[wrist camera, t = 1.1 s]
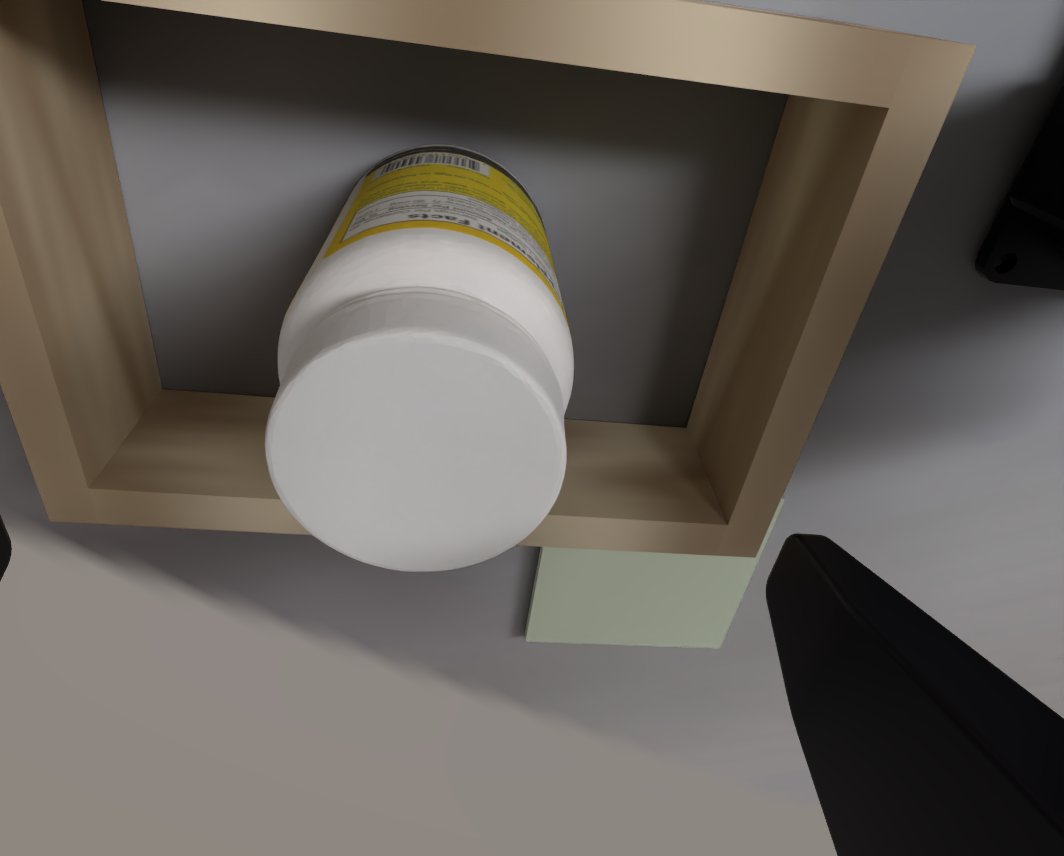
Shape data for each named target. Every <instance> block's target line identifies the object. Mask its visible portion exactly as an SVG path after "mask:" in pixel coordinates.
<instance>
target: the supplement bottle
mask: <svg viewBox="0 0 1064 856" xmlns="http://www.w3.org/2000/svg"><path fill="white" fill-rule="evenodd" d="M278 375H279V381H280V387H279V389H278V392H277V394H276V397H275V399H274V402H273V405H272V407H271V410H270V413H269V416H268V420H267V425H266V432H265V457H266V462H267V466H268V472H269V474H270V477H271V480H272V483H273V485H274V488H275V490H276V492H277V494H278V496H279V497H280V499H281V501H282V502H283V504H284V505H285V507H286V508H287V510H288V511H289V512H290V513H291V514H292V516H293V517H294V518H295V519H296V520H297V521H298V522H299V523H300V524H301V525H302V526H303V527H304V528H305V529H306V530H307V531H308V532H310V533H311V534H312V535H313V536H314V537H316V538H317V539H319V540H320V541H322V542H323V543H324V544H326V545H328V546H329V547H331V548H333V549H335V550H336V551H338V552H340V553H342V554H344V555H346V556H348V557H351V558H353V559H356V560H358V561H361V562H363V563H367V564H371V565H374V566H378V567H382V568H386V569H391V570H399V571H409V572H432V571H444V570H453V569H458V568H463V567H467V566H471V565H474V564H477V563H480V562H483V561H485V560H488V559H490V558H493V557H495V556H497V555H499V554H501V553H503V552H505V551H506V550H508V549H510V548H512V547H513V546H515V545H516V544H518V543H519V542H520V541H522V540H523V539H524V538H526V537H527V536H528V535H529V534H530V533H531V532H533V531H534V530H535V528H536V527H537V526H538V525H539V524H540V523H541V522H542V521H543V519H544V518H545V517H546V515H547V514H548V513H549V511H550V510H551V508H552V506H553V505H554V503H555V501H556V499H557V497H558V495H559V492H560V490H561V486H562V483H563V479H564V475H565V469H566V462H567V447H566V439H565V428H564V414H565V412H566V409H567V406H568V403H569V399H570V396H571V391H572V386H573V376H574V354H573V345H572V339H571V334H570V330H569V326H568V322H567V318H566V313H565V309H564V305H563V301H562V297H561V293H560V289H559V286H558V281H557V277H556V273H555V269H554V265H553V261H552V257H551V252H550V248H549V245H548V241H547V237H546V233H545V229H544V226H543V223H542V220H541V216H540V214H539V212H538V209H537V207H536V205H535V203H534V201H533V199H532V198H531V196H530V194H529V193H528V191H527V190H526V189H525V187H524V186H523V185H522V184H521V182H520V181H519V180H518V179H517V178H516V177H515V176H514V175H513V174H512V173H511V172H510V171H509V170H507V169H506V168H505V167H503V166H502V165H501V164H499V163H498V162H496V161H495V160H493V159H491V158H489V157H487V156H485V155H483V154H481V153H479V152H476V151H473V150H470V149H468V148H464V147H460V146H455V145H447V144H430V145H421V146H416V147H411V148H408V149H405V150H402V151H399V152H397V153H394V154H392V155H390V156H389V157H387V158H385V159H383V160H382V161H380V162H379V163H378V164H376V165H375V166H374V167H372V168H371V169H370V170H369V171H368V172H367V173H366V174H365V175H364V176H363V177H362V178H361V179H360V181H359V182H358V183H357V185H356V186H355V188H354V189H353V191H352V192H351V194H350V196H349V198H348V200H347V201H346V203H345V205H344V207H343V208H342V210H341V212H340V214H339V216H338V218H337V220H336V222H335V224H334V225H333V227H332V229H331V231H330V233H329V235H328V237H327V239H326V241H325V243H324V244H323V246H322V248H321V250H320V252H319V254H318V255H317V257H316V259H315V261H314V263H313V264H312V266H311V268H310V270H309V271H308V273H307V275H306V277H305V279H304V280H303V282H302V284H301V286H300V287H299V289H298V291H297V293H296V294H295V296H294V298H293V300H292V301H291V303H290V306H289V308H288V310H287V312H286V314H285V317H284V321H283V324H282V327H281V332H280V336H279V343H278Z"/></svg>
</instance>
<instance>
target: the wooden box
mask: <svg viewBox="0 0 1064 856" xmlns="http://www.w3.org/2000/svg"><path fill="white" fill-rule="evenodd" d="M103 1H110V2H117V3H125V4H132V5H139V6H147V7H154V8H161V9H169V10H176V11H183V12H190V13H198V14H205V15H212V16H220V17H227V18H234V19H242V20H249V21H256V22H264V23H271V24H278V25H286V26H293V27H300V28H307V29H315V30H322V31H329V32H337V33H344V34H351V35H359V36H366V37H373V38H381V39H388V40H395V41H403V42H410V43H417V44H425V45H432V46H439V47H446V48H454V49H461V50H468V51H476V52H483V53H490V54H498V55H505V56H512V57H520V58H527V59H534V60H542V61H549V62H556V63H563V64H571V65H578V66H585V67H593V68H600V69H607V70H615V71H622V72H629V73H637V74H644V75H651V76H659V77H666V78H673V79H681V80H688V81H695V82H702V83H710V84H717V85H724V86H732V87H739V88H746V89H754V90H761V91H768V92H776V93H783V94H789V96H788V99H787V102H786V106H785V109H784V112H783V115H782V119H781V122H780V125H779V128H778V132H777V135H776V138H775V141H774V145H773V148H772V151H771V154H770V158H769V161H768V164H767V167H766V171H765V174H764V177H763V180H762V184H761V187H760V190H759V193H758V197H757V200H756V203H755V206H754V210H753V213H752V216H751V219H750V223H749V226H748V229H747V232H746V236H745V239H744V242H743V245H742V249H741V252H740V255H739V258H738V262H737V265H736V268H735V271H734V275H733V278H732V281H731V284H730V288H729V291H728V294H727V297H726V301H725V304H724V307H723V310H722V314H721V317H720V320H719V324H718V327H717V330H716V333H715V337H714V340H713V343H712V346H711V350H710V353H709V356H708V359H707V363H706V366H705V369H704V372H703V376H702V379H701V382H700V385H699V389H698V392H697V395H696V398H695V402H694V405H693V408H692V411H691V415H690V418H689V421H688V424H687V428H681V427H667V426H653V425H640V424H626V423H613V422H599V421H586V420H572V419H564V428H565V439H566V447H567V462H566V469H565V475H564V479H563V483H562V486H561V490H560V492H559V495H558V497H557V499H556V501H555V503H554V505H553V506H552V508H551V510H550V511H549V513H548V514H547V515H546V517H545V518H544V519H543V521H542V522H541V523H540V524H539V525H538V526H537V527H536V528H535V530H534V531H533V532H531V533H530V534H529V535H528V536H527V537H526V538H524V539H523V540H522V541H520V542H519V543H518V544H516V545H517V546H536V547H556V548H575V549H595V550H614V551H634V552H653V553H673V554H692V555H712V556H731V557H751V558H756V556H757V553H758V551H759V549H760V546H761V544H762V542H763V539H764V537H765V535H766V533H767V530H768V528H769V526H770V523H771V521H772V519H773V516H774V514H775V512H776V509H777V507H778V505H779V503H780V500H781V498H782V496H783V493H784V491H785V489H786V486H787V484H788V482H789V479H790V477H791V475H792V472H793V470H794V468H795V466H796V463H797V461H798V459H799V456H800V454H801V452H802V449H803V447H804V445H805V442H806V440H807V438H808V435H809V433H810V431H811V429H812V426H813V424H814V422H815V419H816V417H817V415H818V412H819V410H820V408H821V405H822V403H823V401H824V398H825V396H826V394H827V392H828V389H829V387H830V385H831V382H832V380H833V378H834V375H835V373H836V371H837V368H838V366H839V364H840V361H841V359H842V357H843V355H844V352H845V350H846V348H847V345H848V343H849V341H850V338H851V336H852V334H853V331H854V329H855V327H856V324H857V322H858V320H859V318H860V315H861V313H862V311H863V308H864V306H865V304H866V301H867V299H868V297H869V294H870V292H871V290H872V288H873V285H874V283H875V281H876V278H877V276H878V274H879V271H880V269H881V267H882V264H883V262H884V260H885V257H886V255H887V253H888V251H889V248H890V246H891V244H892V241H893V239H894V237H895V234H896V232H897V230H898V227H899V225H900V223H901V220H902V218H903V216H904V214H905V211H906V209H907V207H908V204H909V202H910V200H911V197H912V195H913V193H914V190H915V188H916V186H917V183H918V181H919V179H920V177H921V174H922V172H923V170H924V167H925V165H926V163H927V160H928V158H929V156H930V153H931V151H932V149H933V146H934V144H935V142H936V140H937V137H938V135H939V133H940V130H941V128H942V126H943V123H944V121H945V119H946V116H947V114H948V112H949V109H950V107H951V105H952V103H953V100H954V98H955V96H956V93H957V91H958V89H959V86H960V84H961V82H962V79H963V77H964V75H965V72H966V70H967V68H968V66H969V63H970V61H971V59H972V56H973V54H974V52H975V49H976V47H977V46H976V45H970V44H964V43H959V42H953V41H948V40H942V39H937V38H931V37H925V36H920V35H914V34H909V33H903V32H898V31H892V30H886V29H881V28H875V27H870V26H864V25H858V24H852V23H845V22H839V21H832V20H825V19H819V18H812V17H806V16H799V15H792V14H786V13H779V12H772V11H766V10H759V9H753V8H746V7H739V6H733V5H726V4H720V3H713V2H706V1H700V0H103ZM0 385H1V388H2V391H3V394H4V396H5V399H6V402H7V405H8V407H9V410H10V413H11V416H12V419H13V421H14V424H15V427H16V430H17V432H18V435H19V438H20V441H21V443H22V446H23V449H24V452H25V454H26V457H27V460H28V463H29V465H30V468H31V471H32V474H33V477H34V479H35V482H36V485H37V488H38V490H39V493H40V496H41V499H42V501H43V504H44V507H45V510H46V512H47V515H48V518H49V521H50V522H68V523H88V524H107V525H127V526H146V527H166V528H185V529H205V530H224V531H244V532H263V533H283V534H302V535H312V534H311V533H310V532H308V531H307V530H306V529H305V528H304V527H303V526H302V525H301V524H300V523H299V522H298V521H297V520H296V519H295V518H294V517H293V516H292V514H291V513H290V512H289V511H288V510H287V508H286V507H285V505H284V504H283V502H282V501H281V499H280V497H279V496H278V494H277V492H276V490H275V488H274V485H273V483H272V480H271V477H270V474H269V472H268V466H267V462H266V457H265V432H266V425H267V420H268V416H269V413H270V410H271V407H272V405H273V402H274V399H275V397H262V396H248V395H235V394H221V393H208V392H194V391H181V390H167V389H162V384H161V380H160V375H159V370H158V365H157V360H156V355H155V351H154V346H153V341H152V336H151V331H150V327H149V322H148V317H147V312H146V307H145V302H144V298H143V293H142V288H141V283H140V278H139V274H138V269H137V264H136V259H135V254H134V249H133V245H132V240H131V235H130V230H129V225H128V221H127V216H126V211H125V206H124V201H123V196H122V192H121V187H120V182H119V177H118V172H117V168H116V163H115V158H114V153H113V148H112V143H111V139H110V134H109V129H108V124H107V119H106V115H105V110H104V105H103V100H102V95H101V90H100V86H99V81H98V76H97V71H96V66H95V62H94V57H93V52H92V47H91V42H90V37H89V33H88V28H87V23H86V18H85V13H84V9H83V4H82V0H0Z"/></svg>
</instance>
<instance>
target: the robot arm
mask: <svg viewBox="0 0 1064 856" xmlns="http://www.w3.org/2000/svg"><path fill="white" fill-rule="evenodd" d="M1006 253H1007V255H1006V258H1005V259H1004V261H1003V262H1002V263H1001V264H999V265H998V266H995V265H996V262H997V261H998V259H999V258H1000V257H1001V256H1003V255H1004V254H1006ZM975 269H976V271H977V272H978V273H979V274H980V275H981V276H983V277H984V278H986V279H988V280H989V281H992V282H995V283H1002V284H1011V285H1021V286H1030V287H1040V288H1049V289H1059V290H1064V85H1063V87H1062V89H1061V91H1060V93H1059V95H1058V97H1057V99H1056V101H1055V103H1054V105H1053V107H1052V109H1051V111H1050V113H1049V115H1048V117H1047V119H1046V121H1045V123H1044V125H1043V127H1042V129H1041V131H1040V132H1039V134H1038V136H1037V138H1036V140H1035V142H1034V144H1033V146H1032V148H1031V150H1030V152H1029V154H1028V156H1027V158H1026V160H1025V162H1024V164H1023V166H1022V168H1021V170H1020V172H1019V174H1018V176H1017V178H1016V180H1015V182H1014V183H1013V185H1012V187H1011V189H1010V191H1009V193H1008V195H1007V197H1006V199H1005V201H1004V203H1003V205H1002V207H1001V209H1000V211H999V213H998V215H997V217H996V219H995V221H994V223H993V225H992V227H991V229H990V231H989V233H988V235H987V236H986V238H985V240H984V242H983V244H982V246H981V248H980V250H979V252H978V254H977V257H976V260H975ZM11 550H12V548H11V540H10V537H9V535H8V532H7V530H6V528H5V525H4V523H3V520H2V518H1V515H0V581H1V579H2V577H3V574H4V572H5V570H6V568H7V566H8V564H9V561H10V557H11ZM766 600H767V605H768V609H769V614H770V619H771V623H772V628H773V633H774V637H775V642H776V647H777V651H778V656H779V660H780V665H781V670H782V674H783V679H784V684H785V688H786V693H787V697H788V701H789V706H790V710H791V714H792V717H793V721H794V724H795V727H796V730H797V734H798V737H799V740H800V743H801V746H802V749H803V752H804V755H805V758H806V761H807V764H808V767H809V770H810V773H811V777H812V780H813V783H814V786H815V789H816V792H817V795H818V798H819V801H820V804H821V807H822V810H823V813H824V816H825V819H826V822H827V825H828V828H829V831H830V834H831V837H832V840H833V843H834V846H835V849H836V852H837V855H838V856H1064V718H1062V717H1061V716H1060V715H1058V714H1057V713H1056V712H1054V711H1053V710H1052V709H1050V708H1049V707H1048V706H1047V705H1045V704H1044V703H1043V702H1041V701H1040V700H1039V699H1037V698H1036V697H1035V696H1034V695H1032V694H1031V693H1030V692H1028V691H1027V690H1026V689H1024V688H1023V687H1022V686H1021V685H1019V684H1018V683H1017V682H1015V681H1014V680H1013V679H1011V678H1010V677H1009V676H1008V675H1006V674H1005V673H1004V672H1002V671H1001V670H1000V669H998V668H997V667H996V666H995V665H993V664H992V663H991V662H989V661H988V660H987V659H985V658H984V657H983V656H981V655H980V654H979V653H978V652H976V651H975V650H974V649H972V648H971V647H970V646H968V645H967V644H966V643H965V642H963V641H962V640H961V639H959V638H958V637H957V636H955V635H954V634H953V633H952V632H950V631H949V630H948V629H946V628H945V627H944V626H942V625H941V624H940V623H939V622H937V621H936V620H935V619H933V618H932V617H931V616H929V615H928V614H927V613H926V612H924V611H923V610H922V609H920V608H919V607H918V606H916V605H915V604H914V603H913V602H911V601H910V600H909V599H907V598H906V597H905V596H903V595H902V594H901V593H899V592H898V591H897V590H896V589H894V588H893V587H892V586H890V585H889V584H888V583H886V582H885V581H884V580H883V579H881V578H880V577H879V576H877V575H876V574H875V573H873V572H872V571H871V570H870V569H868V568H867V567H866V566H864V565H863V564H862V563H860V562H859V561H858V560H857V559H855V558H854V557H853V556H851V555H850V554H849V553H847V552H846V551H845V550H844V549H842V548H841V547H840V546H838V545H837V544H836V543H834V542H833V541H832V540H830V539H829V538H827V537H825V536H822V535H814V534H792V535H790V536H789V537H788V538H787V539H786V541H785V542H784V544H783V547H782V549H781V551H780V553H779V555H778V557H777V560H776V562H775V564H774V566H773V568H772V571H771V573H770V575H769V577H768V580H767V584H766Z"/></svg>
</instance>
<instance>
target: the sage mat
mask: <svg viewBox="0 0 1064 856" xmlns="http://www.w3.org/2000/svg"><path fill="white" fill-rule="evenodd" d="M784 501H785V497H784V495H783V496H782V498H781V500H780V503H779V505H778V507H777V509H776V512H775V514H774V516H773V519H772V521H771V523H770V526H769V528H768V530H767V533H766V535H765V537H764V539H763V542H762V544H761V546H760V549H759V551H758V553H757V556H756V558H751V557H731V556H712V555H692V554H673V553H653V552H634V551H614V550H595V549H575V548H556V547H541V548H540V553H539V558H538V564H537V569H536V575H535V580H534V586H533V591H532V597H531V602H530V607H529V613H528V618H527V624H526V629H525V642H549V643H578V644H607V645H635V646H664V647H693V648H721V645H722V643H723V641H724V638H725V636H726V634H727V631H728V629H729V627H730V625H731V622H732V620H733V618H734V615H735V613H736V611H737V609H738V606H739V604H740V602H741V599H742V597H743V595H744V593H745V590H746V588H747V586H748V583H749V581H750V579H751V577H752V574H753V572H754V570H755V567H756V565H757V563H758V561H759V558H760V556H761V554H762V551H763V549H764V547H765V545H766V542H767V540H768V538H769V535H770V533H771V531H772V529H773V526H774V524H775V522H776V519H777V517H778V515H779V513H780V510H781V508H782V506H783V503H784Z"/></svg>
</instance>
